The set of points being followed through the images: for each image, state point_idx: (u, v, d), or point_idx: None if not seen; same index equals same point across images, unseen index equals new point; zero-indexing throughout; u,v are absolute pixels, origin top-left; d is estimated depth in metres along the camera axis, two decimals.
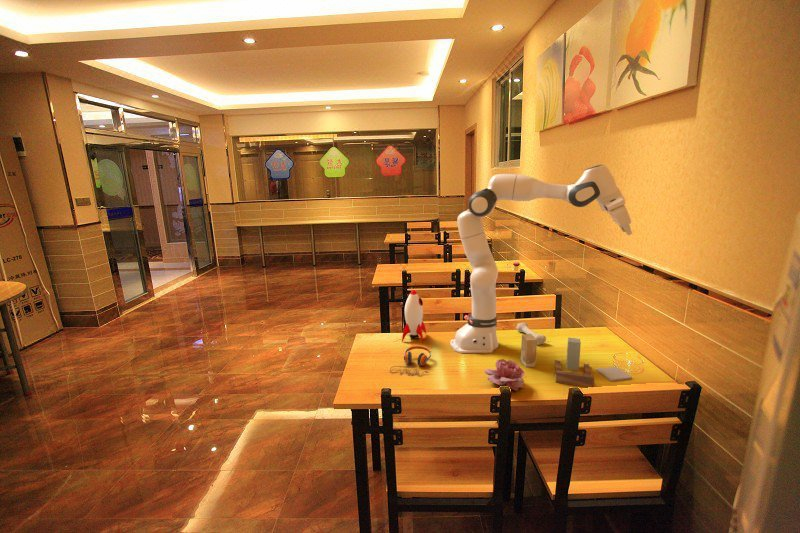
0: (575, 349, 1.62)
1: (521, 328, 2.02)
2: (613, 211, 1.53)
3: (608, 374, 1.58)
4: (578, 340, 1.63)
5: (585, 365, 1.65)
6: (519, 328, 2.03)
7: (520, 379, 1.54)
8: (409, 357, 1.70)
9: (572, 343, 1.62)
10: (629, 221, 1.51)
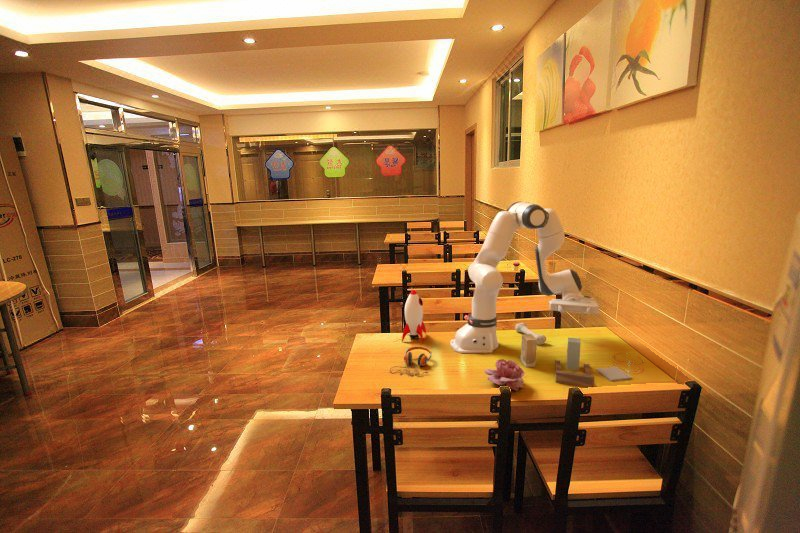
0: (575, 349, 1.62)
1: (520, 328, 2.02)
2: None
3: (608, 374, 1.58)
4: (578, 340, 1.63)
5: (585, 365, 1.65)
6: (518, 328, 2.03)
7: (520, 379, 1.54)
8: (409, 357, 1.70)
9: (572, 343, 1.62)
10: (598, 312, 1.75)
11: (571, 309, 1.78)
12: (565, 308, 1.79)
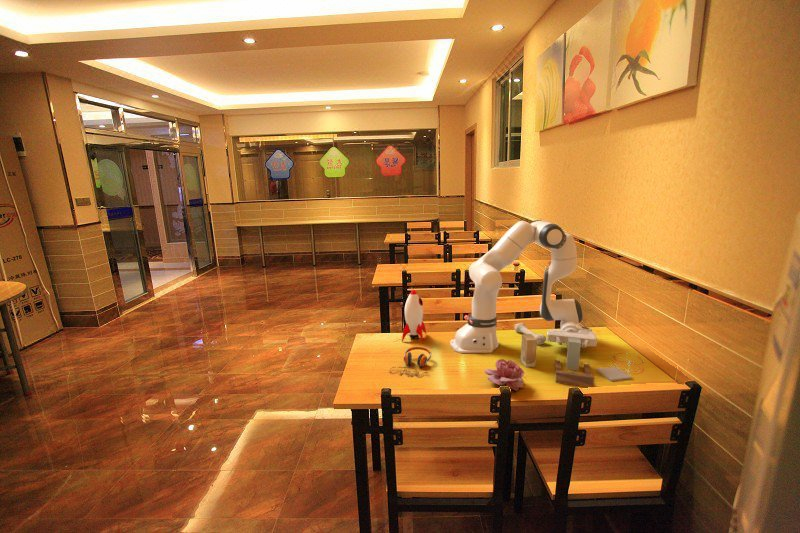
0: (575, 349, 1.62)
1: (519, 328, 2.02)
2: None
3: (608, 374, 1.58)
4: (578, 340, 1.63)
5: (585, 365, 1.65)
6: (517, 328, 2.03)
7: (520, 379, 1.54)
8: (409, 358, 1.70)
9: (572, 343, 1.62)
10: None
11: None
12: (563, 339, 1.79)
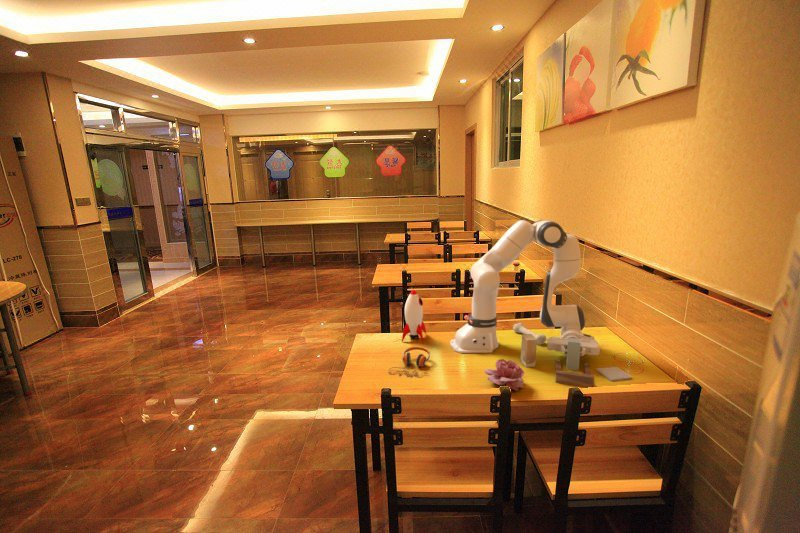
0: (575, 349, 1.62)
1: (518, 329, 2.02)
2: None
3: (608, 374, 1.58)
4: (578, 340, 1.63)
5: (585, 365, 1.65)
6: (516, 329, 2.02)
7: (520, 379, 1.54)
8: (408, 358, 1.69)
9: (572, 343, 1.62)
10: (598, 353, 1.66)
11: None
12: (564, 348, 1.70)
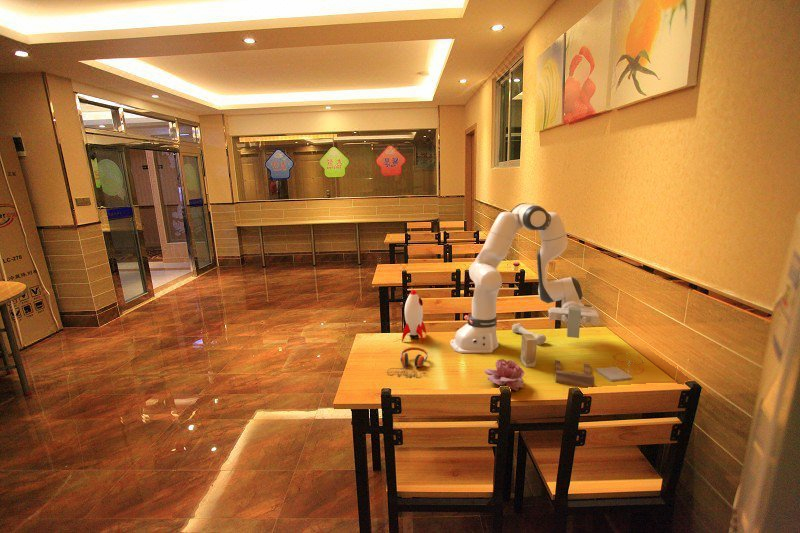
0: (576, 317, 1.67)
1: (517, 329, 2.02)
2: None
3: (608, 374, 1.58)
4: (578, 308, 1.68)
5: (585, 365, 1.65)
6: (515, 329, 2.02)
7: (520, 379, 1.54)
8: (406, 359, 1.69)
9: (573, 311, 1.67)
10: (598, 322, 1.71)
11: None
12: None
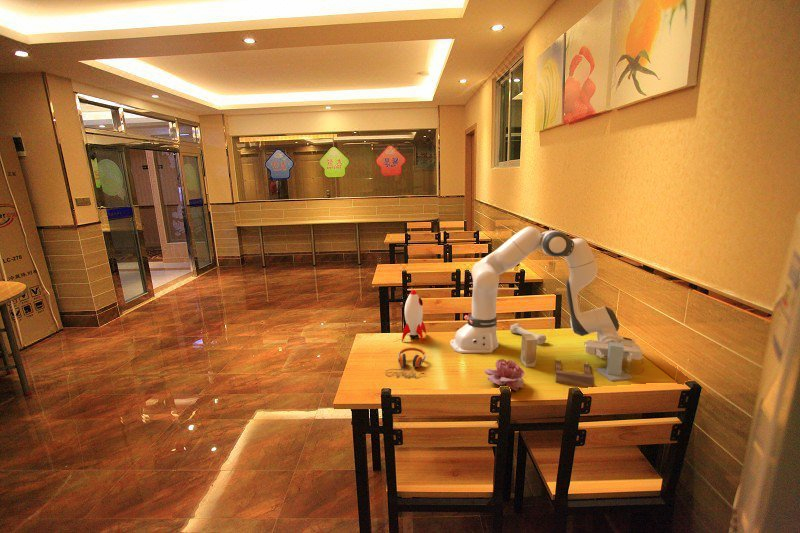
0: (618, 353, 1.55)
1: (516, 329, 2.01)
2: None
3: None
4: (620, 344, 1.56)
5: (585, 365, 1.65)
6: (514, 329, 2.01)
7: (520, 379, 1.54)
8: (404, 359, 1.68)
9: (614, 347, 1.55)
10: (641, 358, 1.59)
11: None
12: (604, 352, 1.63)
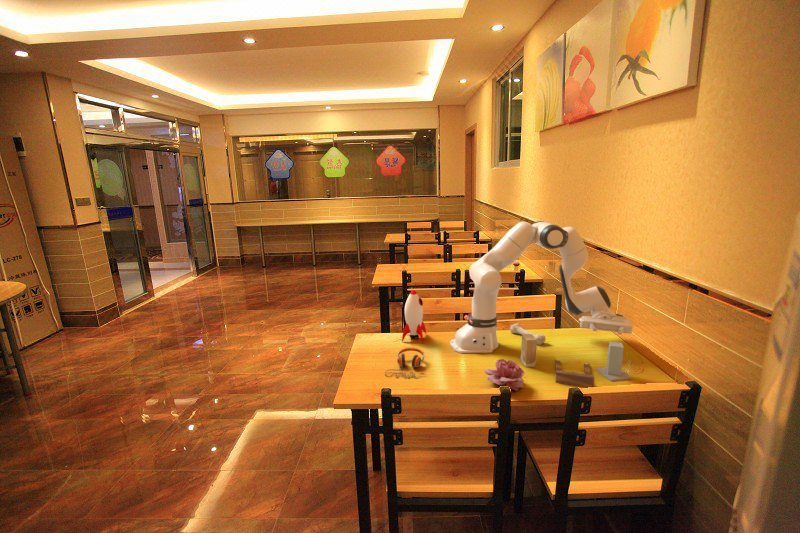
0: (618, 353, 1.55)
1: (516, 329, 2.01)
2: None
3: None
4: (620, 344, 1.56)
5: (585, 365, 1.65)
6: (513, 329, 2.02)
7: (520, 379, 1.54)
8: (403, 360, 1.68)
9: (614, 347, 1.55)
10: (631, 332, 1.71)
11: (603, 327, 1.74)
12: (597, 326, 1.75)
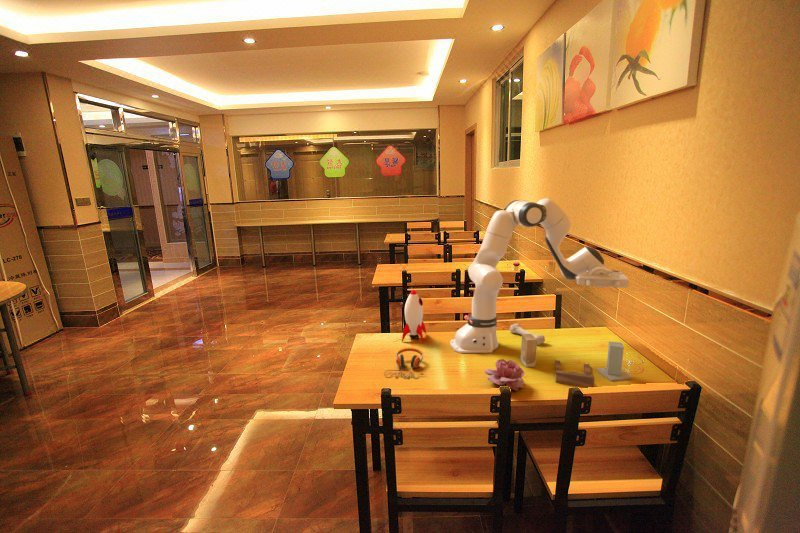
0: (618, 353, 1.55)
1: (515, 329, 2.01)
2: None
3: None
4: (620, 344, 1.56)
5: (585, 365, 1.65)
6: (513, 329, 2.02)
7: (520, 379, 1.54)
8: (402, 360, 1.68)
9: (614, 347, 1.55)
10: None
11: (600, 283, 1.74)
12: (593, 282, 1.75)
